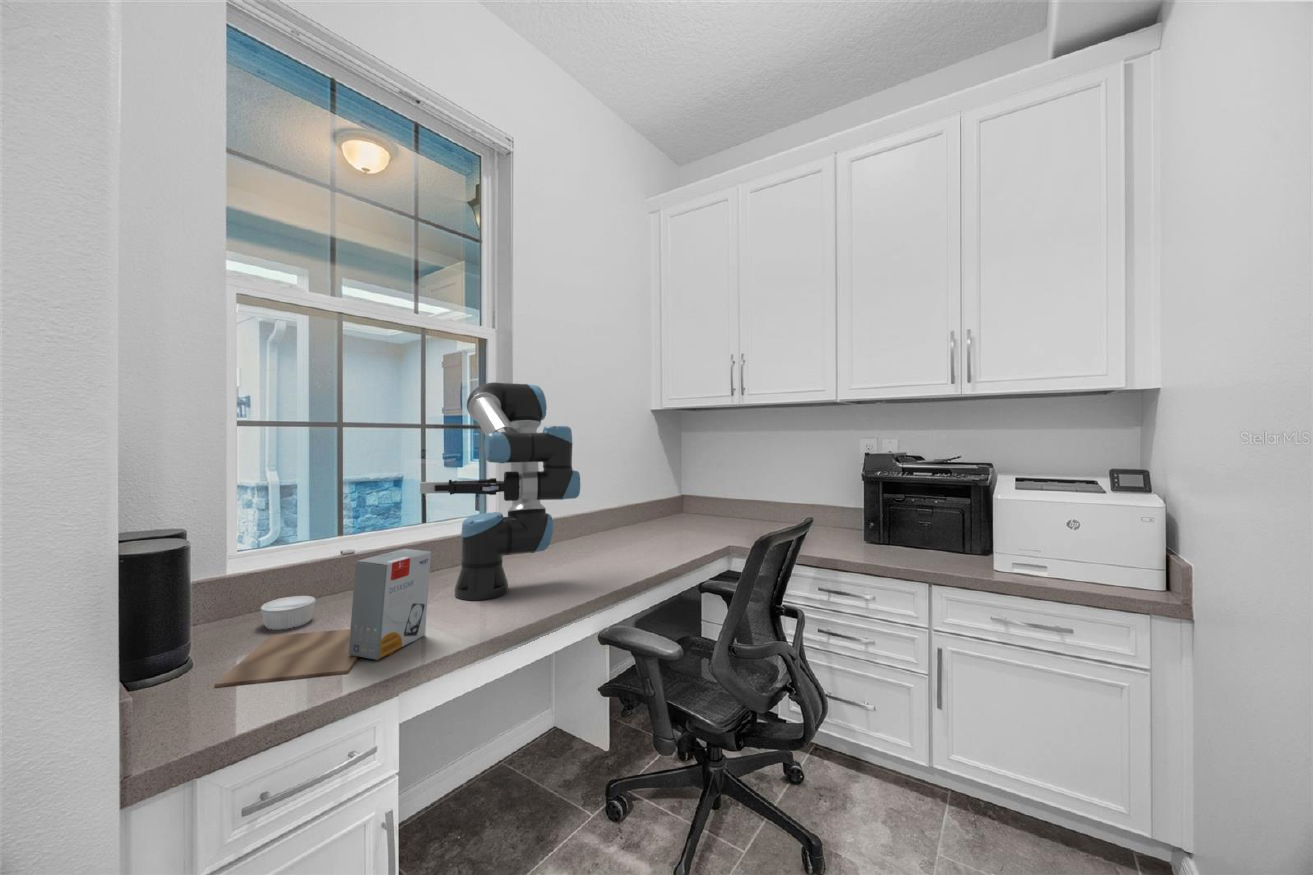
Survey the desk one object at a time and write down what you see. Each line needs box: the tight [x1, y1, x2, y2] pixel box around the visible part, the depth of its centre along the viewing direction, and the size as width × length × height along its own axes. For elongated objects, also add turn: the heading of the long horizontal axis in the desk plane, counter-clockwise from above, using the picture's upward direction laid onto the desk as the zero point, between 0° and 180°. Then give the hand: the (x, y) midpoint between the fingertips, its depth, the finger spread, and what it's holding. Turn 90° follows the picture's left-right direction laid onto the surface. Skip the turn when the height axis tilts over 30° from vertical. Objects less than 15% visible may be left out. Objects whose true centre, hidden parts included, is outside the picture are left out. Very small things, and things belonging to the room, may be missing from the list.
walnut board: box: [214, 628, 360, 688], centre depth 111 cm, size 22×24×1 cm
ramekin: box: [260, 595, 316, 631], centre depth 129 cm, size 11×11×5 cm
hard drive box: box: [348, 548, 432, 661], centre depth 115 cm, size 16×8×20 cm, turn 168°
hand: (420, 487), depth 127 cm, fingers closed
